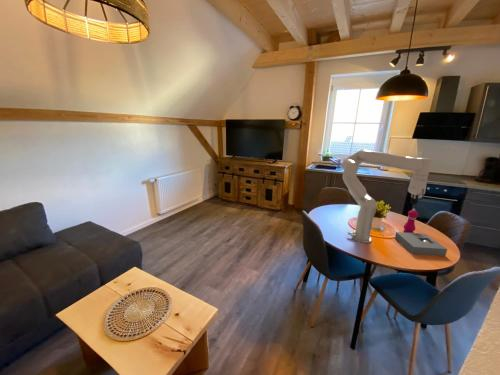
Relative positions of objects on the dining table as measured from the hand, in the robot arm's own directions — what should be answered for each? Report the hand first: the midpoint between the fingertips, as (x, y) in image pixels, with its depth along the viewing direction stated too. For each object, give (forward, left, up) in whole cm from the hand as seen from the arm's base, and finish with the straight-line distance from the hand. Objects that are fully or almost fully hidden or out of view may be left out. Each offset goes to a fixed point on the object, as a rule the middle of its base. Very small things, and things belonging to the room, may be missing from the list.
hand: (413, 203), depth 143 cm
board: (+7, -4, -29) cm, 30 cm away
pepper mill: (+12, +16, -29) cm, 35 cm away
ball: (+11, -4, -27) cm, 29 cm away
